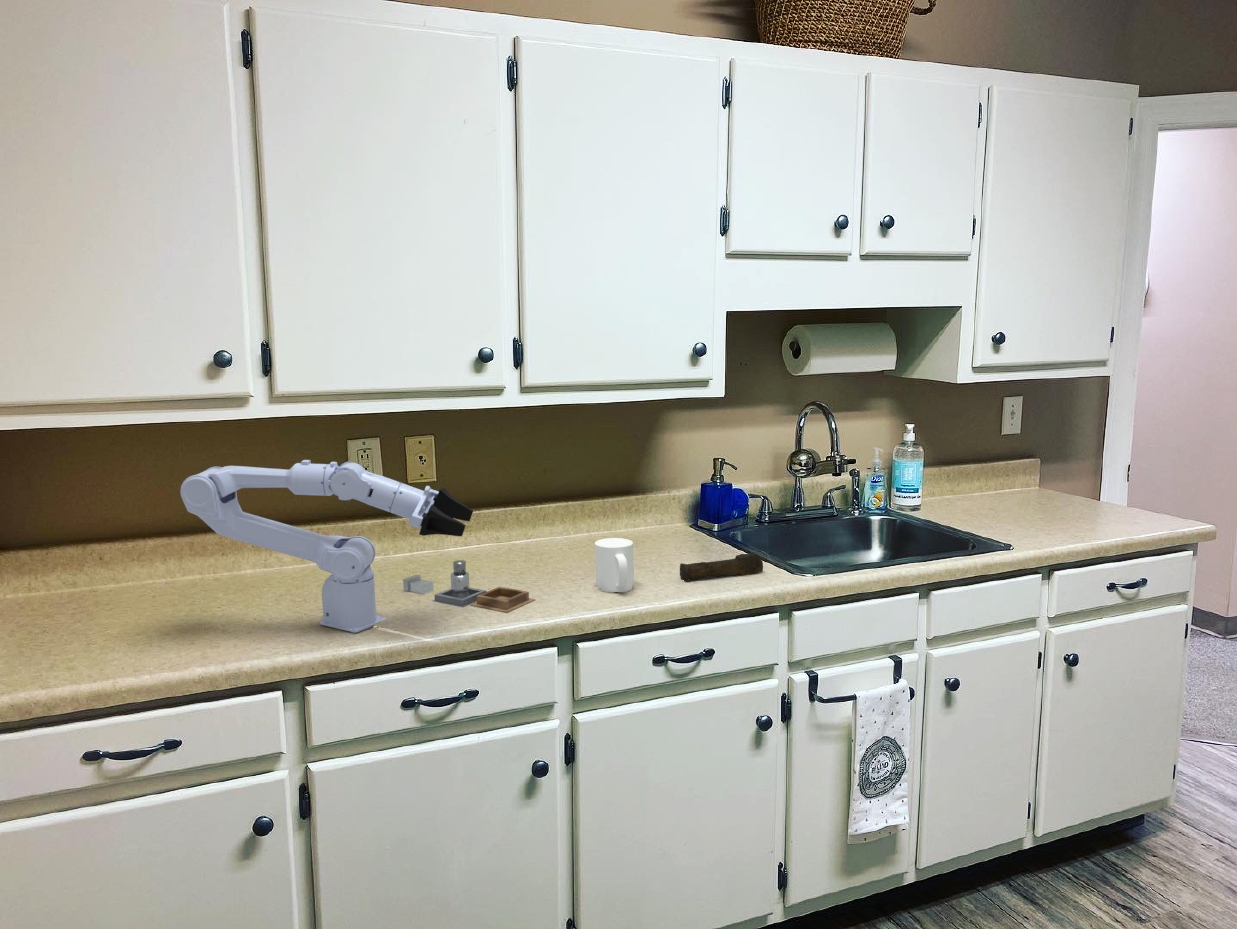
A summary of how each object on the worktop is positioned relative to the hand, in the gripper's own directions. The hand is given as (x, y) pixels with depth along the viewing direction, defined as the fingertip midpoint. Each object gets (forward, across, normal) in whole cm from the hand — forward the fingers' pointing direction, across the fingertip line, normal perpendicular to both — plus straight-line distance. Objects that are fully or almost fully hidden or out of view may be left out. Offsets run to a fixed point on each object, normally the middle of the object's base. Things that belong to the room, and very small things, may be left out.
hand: (467, 523), depth 174 cm
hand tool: (+54, +28, +4) cm, 61 cm away
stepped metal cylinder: (+3, +10, +20) cm, 22 cm away
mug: (+32, +19, +11) cm, 39 cm away
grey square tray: (+3, +10, +20) cm, 23 cm away
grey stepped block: (-5, +15, +25) cm, 29 cm away
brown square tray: (+11, +7, +17) cm, 22 cm away
